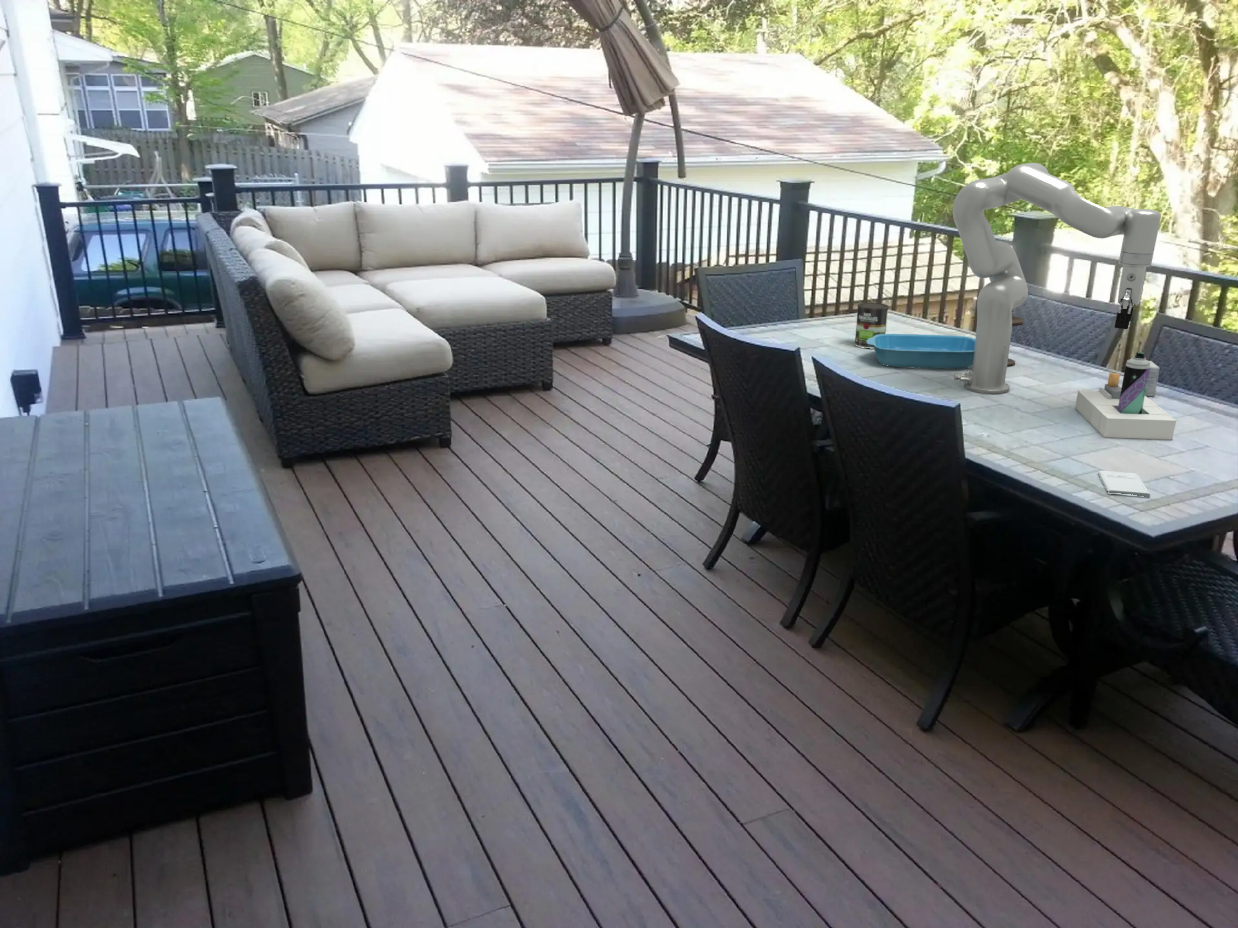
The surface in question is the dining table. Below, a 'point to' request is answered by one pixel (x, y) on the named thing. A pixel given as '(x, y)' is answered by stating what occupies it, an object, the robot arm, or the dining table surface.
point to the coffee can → (870, 322)
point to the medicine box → (1152, 380)
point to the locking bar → (1113, 385)
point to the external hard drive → (1123, 483)
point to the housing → (1124, 417)
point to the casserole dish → (923, 350)
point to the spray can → (1134, 385)
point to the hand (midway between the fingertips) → (1122, 324)
